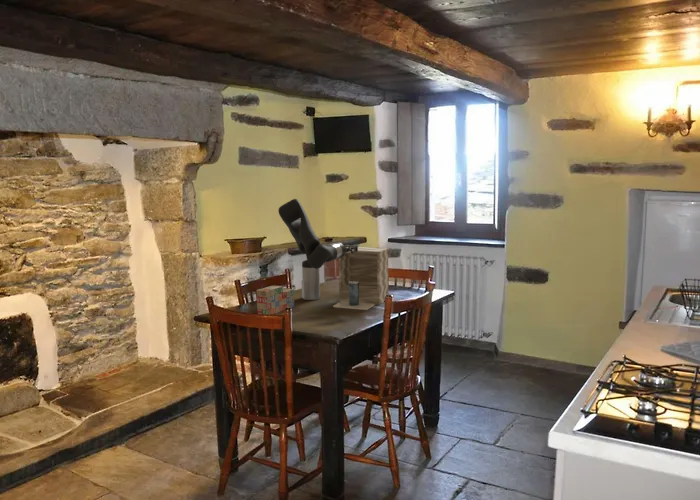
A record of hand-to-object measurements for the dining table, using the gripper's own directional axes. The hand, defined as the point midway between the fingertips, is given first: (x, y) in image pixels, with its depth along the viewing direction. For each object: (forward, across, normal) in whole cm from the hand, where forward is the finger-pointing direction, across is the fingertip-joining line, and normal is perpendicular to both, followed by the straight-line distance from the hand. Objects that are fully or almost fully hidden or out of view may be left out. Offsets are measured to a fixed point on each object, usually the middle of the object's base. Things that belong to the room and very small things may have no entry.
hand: (347, 246), depth 274 cm
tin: (+8, 0, +30) cm, 31 cm away
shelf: (+22, 0, +31) cm, 38 cm away
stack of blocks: (-13, +33, +31) cm, 47 cm away
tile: (+8, 0, +31) cm, 32 cm away
